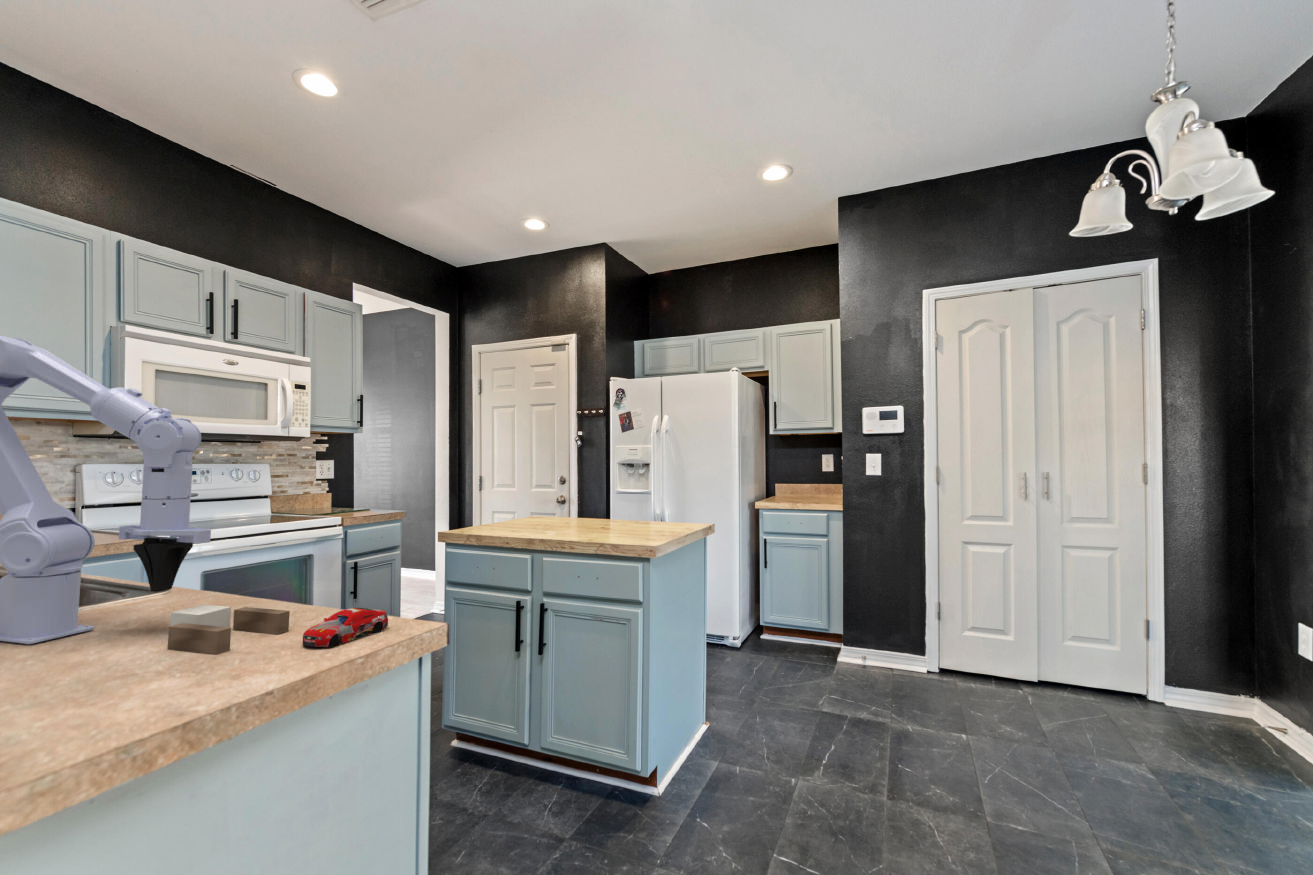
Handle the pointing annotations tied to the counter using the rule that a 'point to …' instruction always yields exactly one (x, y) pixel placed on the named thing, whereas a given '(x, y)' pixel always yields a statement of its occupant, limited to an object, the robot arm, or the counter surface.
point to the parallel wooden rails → (226, 630)
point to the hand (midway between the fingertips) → (161, 590)
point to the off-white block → (202, 616)
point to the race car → (345, 627)
